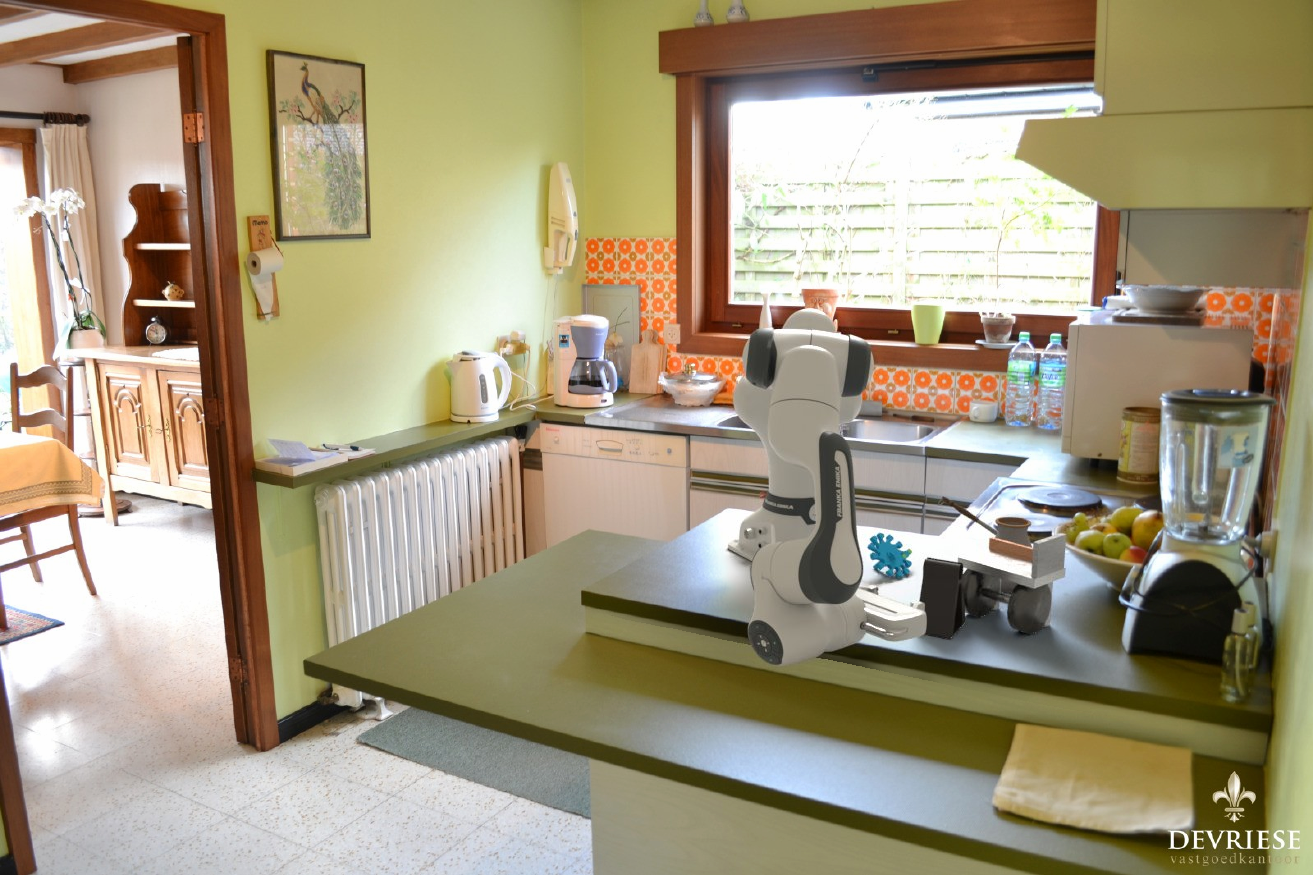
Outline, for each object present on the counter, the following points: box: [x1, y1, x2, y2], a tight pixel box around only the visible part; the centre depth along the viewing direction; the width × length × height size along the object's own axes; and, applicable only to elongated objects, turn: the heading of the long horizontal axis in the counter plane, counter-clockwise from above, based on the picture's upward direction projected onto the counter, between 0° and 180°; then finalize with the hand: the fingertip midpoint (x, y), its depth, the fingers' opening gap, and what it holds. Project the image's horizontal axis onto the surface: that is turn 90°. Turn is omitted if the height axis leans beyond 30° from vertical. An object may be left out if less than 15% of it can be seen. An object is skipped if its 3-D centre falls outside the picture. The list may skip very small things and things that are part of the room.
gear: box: [867, 532, 913, 579], centre depth 203 cm, size 11×6×10 cm
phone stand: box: [918, 556, 967, 640], centre depth 173 cm, size 9×6×12 cm, turn 146°
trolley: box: [957, 532, 1067, 635], centre depth 175 cm, size 15×10×17 cm
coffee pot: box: [937, 496, 1033, 594], centre depth 196 cm, size 21×12×15 cm, turn 44°
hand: (897, 598), depth 165 cm, fingers open, 8 cm apart
